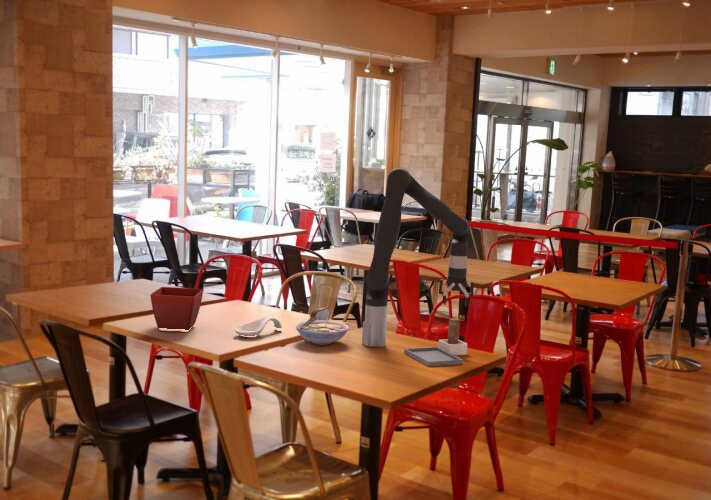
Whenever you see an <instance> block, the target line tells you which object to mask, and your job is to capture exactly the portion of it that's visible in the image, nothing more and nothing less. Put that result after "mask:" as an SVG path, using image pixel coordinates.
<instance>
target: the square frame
mask: <svg viewBox="0 0 711 500" xmlns="http://www.w3.org/2000/svg"><path fill="white" fill-rule="evenodd" d="M438 347H439V348H441V349H443V350H445V351H447V352H449V353H451V354H453V355H455V356H462V355H463V356H464V355H468V343H467V342H464V341H462V340H460V339H459V341H458V344H448V338H447V339H438Z"/></svg>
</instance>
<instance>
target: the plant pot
mask: <svg viewBox="0 0 711 500" xmlns="http://www.w3.org/2000/svg"><path fill="white" fill-rule="evenodd" d="M203 293H204V289H202V288H194V287H193V288H192V287H189V288H188V287H172V286H171V287H170V286H161V287H159V288H157V289H156V290H155V291H152V292H151V293H150V294H149V295H150V301H151V302H150V303H151V307H152V312H153V316H154V319H155V322H156V326H157V329H158V328H167V329H185V330H189V329H190V328H191V327H192V326H193V325H194V324H196V322H197V319H198V315H199V313H200V308H201V305H202V300H203ZM194 326H195V325H194Z"/></svg>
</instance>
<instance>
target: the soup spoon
mask: <svg viewBox="0 0 711 500" xmlns="http://www.w3.org/2000/svg"><path fill="white" fill-rule="evenodd" d="M330 315H331V310H330V309H329V308H328V307H325V306H320V307H317V308H314V309H313V310H312V311H311V312H310V315H309V319H310V318H311V317H313V318H312V319H314V318H315V317H317V319H315V320H323V321H328V320H329V321H330ZM312 319H311V320H312ZM311 320H310V321H311Z"/></svg>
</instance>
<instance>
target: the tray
mask: <svg viewBox="0 0 711 500" xmlns="http://www.w3.org/2000/svg"><path fill="white" fill-rule="evenodd" d="M403 353H404V355H407V356H409V357H410V358H412V359H415V360H416V361H417V362H420V363H422V364H424V365H425V366H426V367H440V366H441V367H442V366H454V365H456V366H457V365H463V363H464V359H462V358H460V357H459V356H458V355H453V354H451V353H449V352H447V351H445V350H443V349H441V348H439V346H427V347H426V346H425V347H413V348H411V347H410V348H404V349H403Z"/></svg>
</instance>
